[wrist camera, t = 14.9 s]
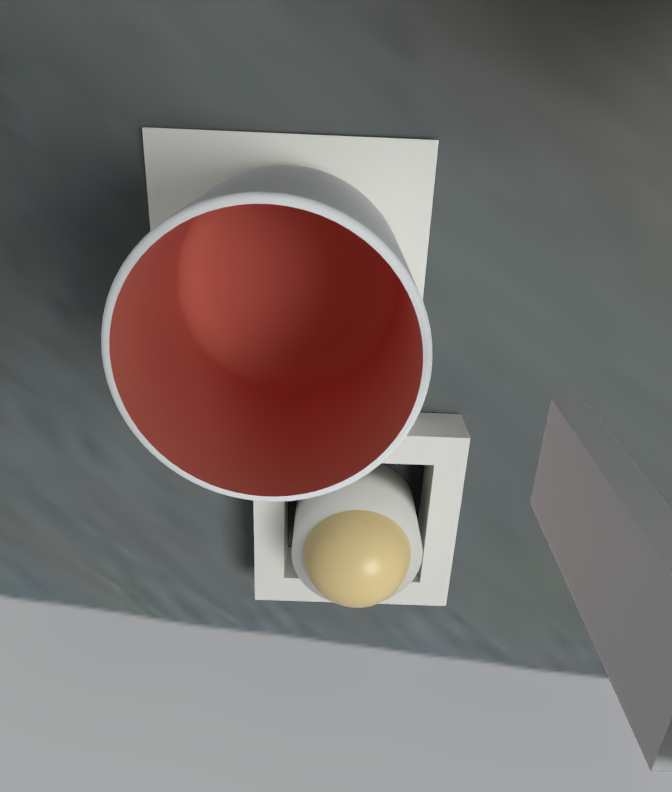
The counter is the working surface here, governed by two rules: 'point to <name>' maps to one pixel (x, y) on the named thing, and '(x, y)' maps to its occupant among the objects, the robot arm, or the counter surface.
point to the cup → (269, 337)
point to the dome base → (438, 518)
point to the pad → (338, 155)
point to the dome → (358, 540)
